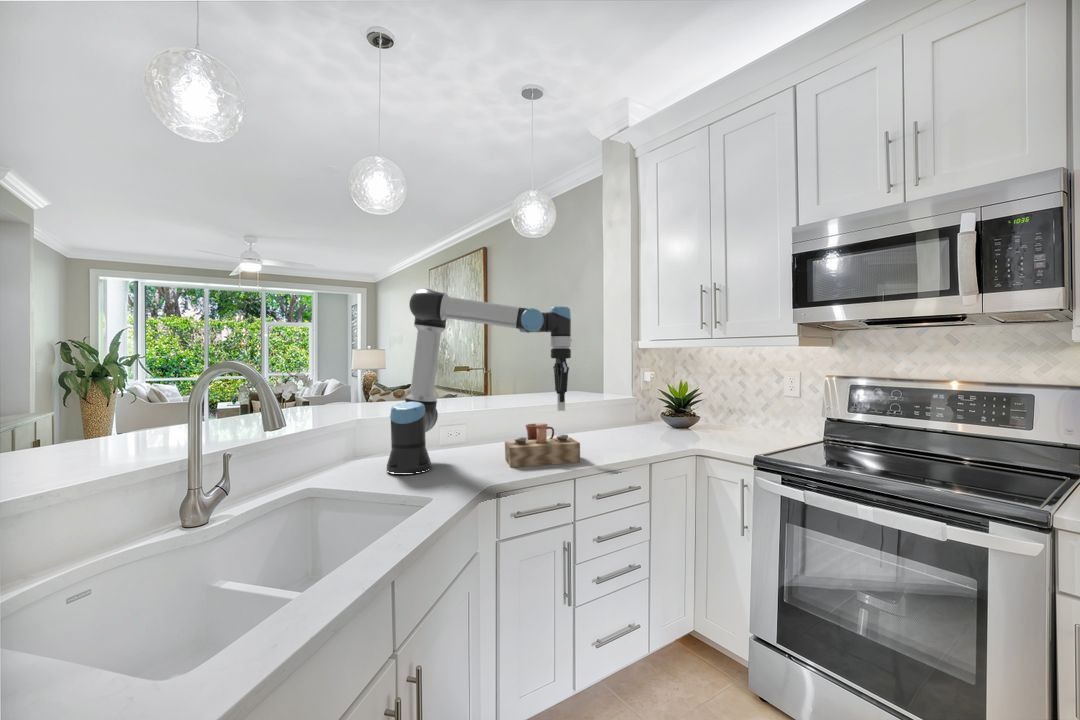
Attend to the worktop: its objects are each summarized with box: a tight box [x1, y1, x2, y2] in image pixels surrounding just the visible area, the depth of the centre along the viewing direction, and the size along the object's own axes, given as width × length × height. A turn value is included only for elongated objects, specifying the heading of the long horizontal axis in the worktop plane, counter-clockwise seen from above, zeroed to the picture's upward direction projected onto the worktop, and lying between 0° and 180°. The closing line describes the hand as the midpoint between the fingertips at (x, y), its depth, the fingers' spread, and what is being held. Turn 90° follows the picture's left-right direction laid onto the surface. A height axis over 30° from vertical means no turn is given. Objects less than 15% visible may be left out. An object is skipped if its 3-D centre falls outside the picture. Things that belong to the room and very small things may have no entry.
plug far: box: [556, 434, 569, 443], centre depth 177 cm, size 4×4×9 cm
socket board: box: [504, 437, 581, 468], centre depth 175 cm, size 26×12×7 cm, turn 103°
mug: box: [524, 423, 555, 440], centre depth 195 cm, size 12×9×10 cm
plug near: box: [514, 436, 527, 445], centre depth 173 cm, size 4×4×9 cm
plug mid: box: [535, 422, 548, 444], centre depth 175 cm, size 4×4×9 cm
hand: (561, 410), depth 177 cm, fingers closed
